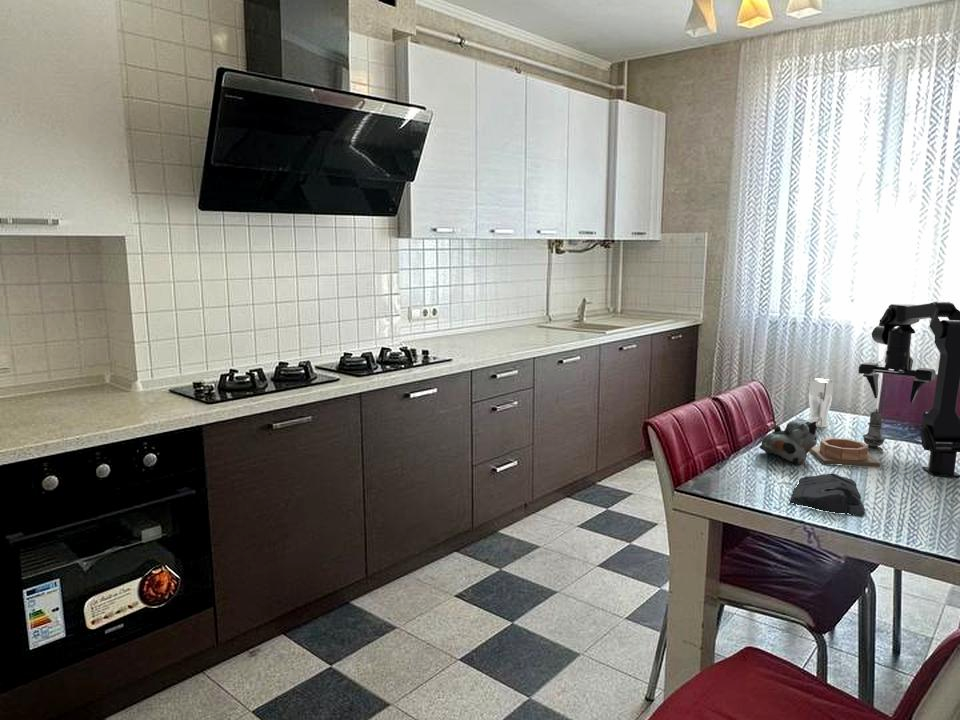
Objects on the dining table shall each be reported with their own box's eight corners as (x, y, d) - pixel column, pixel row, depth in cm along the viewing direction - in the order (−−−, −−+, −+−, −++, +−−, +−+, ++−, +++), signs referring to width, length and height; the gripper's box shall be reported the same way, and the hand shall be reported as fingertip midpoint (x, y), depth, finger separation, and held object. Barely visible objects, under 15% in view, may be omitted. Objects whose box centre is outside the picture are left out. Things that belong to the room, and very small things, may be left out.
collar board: (879, 467, 186) (881, 452, 185) (823, 464, 188) (825, 449, 188) (860, 452, 200) (862, 438, 199) (808, 449, 202) (809, 435, 201)
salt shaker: (888, 451, 201) (892, 411, 199) (867, 451, 201) (871, 410, 199) (877, 446, 207) (881, 406, 205) (857, 445, 207) (861, 406, 205)
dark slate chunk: (864, 490, 169) (866, 471, 168) (864, 521, 150) (866, 499, 149) (795, 480, 176) (797, 462, 176) (787, 508, 157) (788, 487, 157)
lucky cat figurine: (759, 449, 202) (784, 407, 201) (799, 471, 197) (826, 429, 195) (755, 446, 189) (782, 402, 187) (798, 471, 183) (826, 425, 182)
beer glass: (812, 421, 235) (816, 377, 233) (833, 425, 230) (837, 380, 228) (802, 424, 231) (806, 380, 229) (823, 429, 226) (828, 383, 223)
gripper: (942, 348, 202) (936, 401, 204) (871, 342, 215) (866, 392, 217) (933, 351, 194) (927, 406, 196) (860, 345, 207) (855, 397, 209)
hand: (893, 400), depth 205 cm, fingers open, 9 cm apart
